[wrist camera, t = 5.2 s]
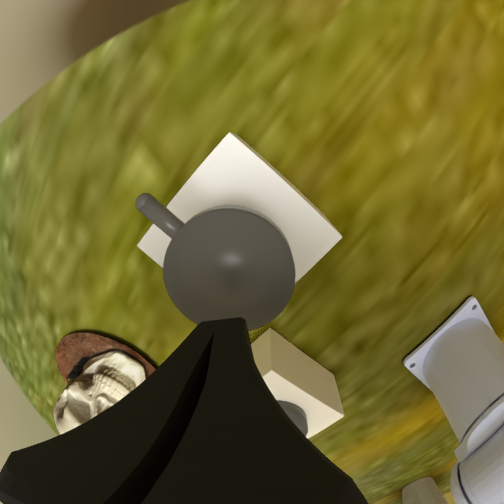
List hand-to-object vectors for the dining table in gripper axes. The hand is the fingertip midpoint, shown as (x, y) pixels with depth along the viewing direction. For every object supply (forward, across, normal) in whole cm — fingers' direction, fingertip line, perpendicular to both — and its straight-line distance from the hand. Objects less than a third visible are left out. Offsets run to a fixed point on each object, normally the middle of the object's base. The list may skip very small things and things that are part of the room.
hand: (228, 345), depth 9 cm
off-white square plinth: (+10, 0, +11) cm, 15 cm away
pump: (+6, 0, -2) cm, 7 cm away
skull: (+11, +14, +11) cm, 21 cm away
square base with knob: (+10, 0, -1) cm, 11 cm away
